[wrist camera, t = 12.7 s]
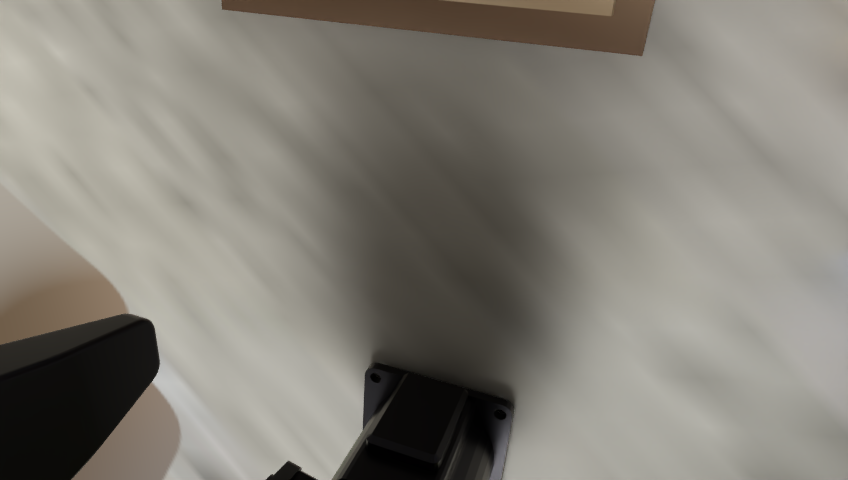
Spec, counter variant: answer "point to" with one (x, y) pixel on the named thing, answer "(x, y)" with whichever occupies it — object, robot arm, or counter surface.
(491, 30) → the board
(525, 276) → the counter surface
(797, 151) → the counter surface
